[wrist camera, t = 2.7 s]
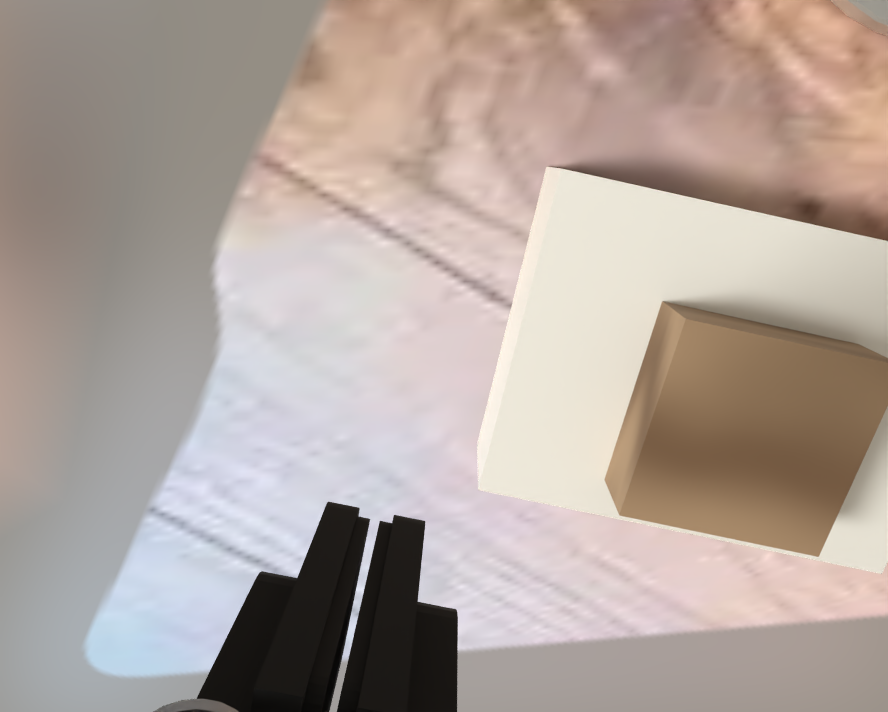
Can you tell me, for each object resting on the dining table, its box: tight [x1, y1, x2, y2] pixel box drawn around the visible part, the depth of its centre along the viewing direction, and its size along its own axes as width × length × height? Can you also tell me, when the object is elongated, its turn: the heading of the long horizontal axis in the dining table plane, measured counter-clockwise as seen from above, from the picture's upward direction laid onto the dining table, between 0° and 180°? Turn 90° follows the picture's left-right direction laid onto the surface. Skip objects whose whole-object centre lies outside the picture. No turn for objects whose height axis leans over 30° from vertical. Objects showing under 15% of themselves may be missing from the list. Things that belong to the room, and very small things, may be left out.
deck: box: [477, 167, 888, 574], centre depth 25 cm, size 12×16×4 cm
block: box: [604, 301, 888, 557], centre depth 22 cm, size 7×7×2 cm
